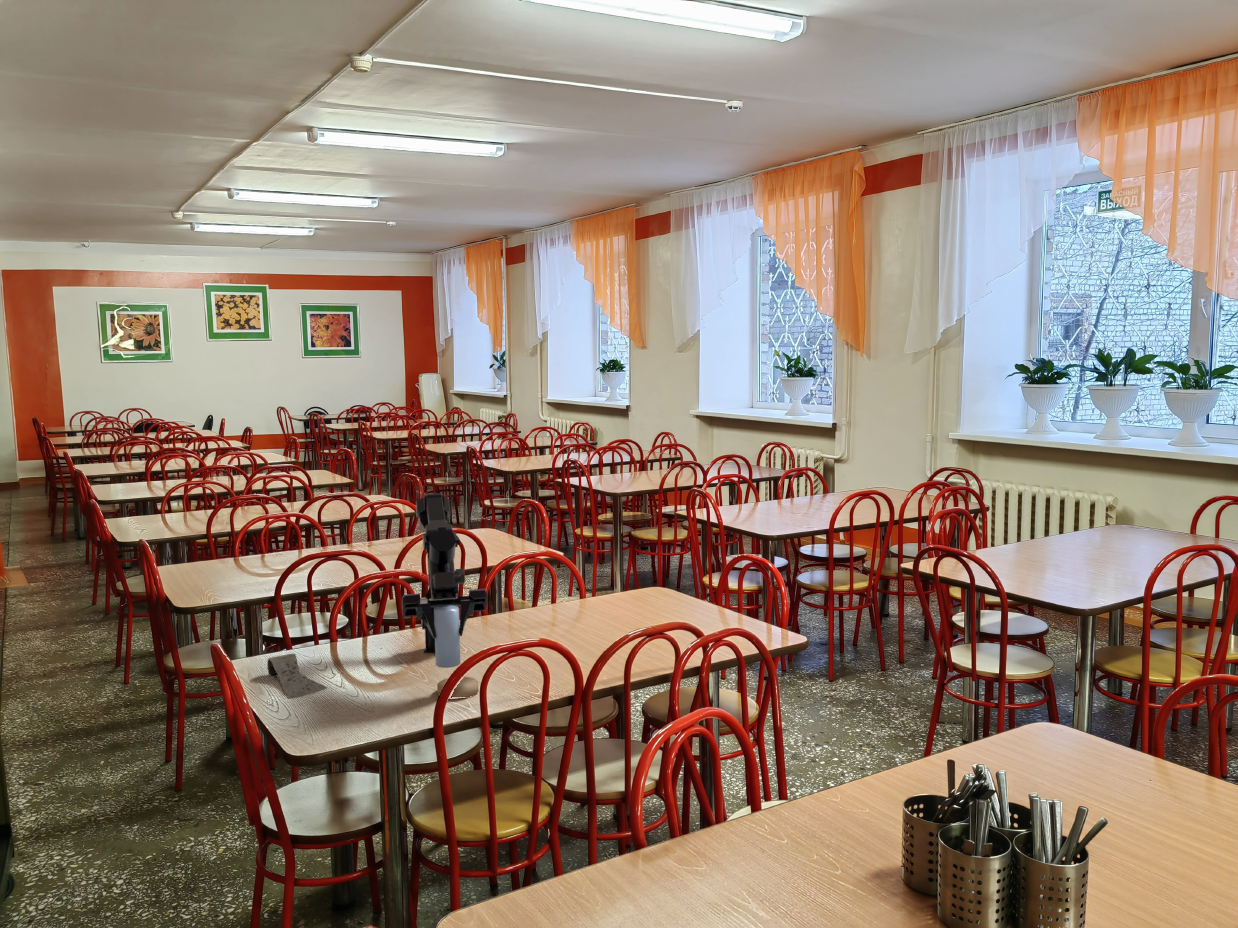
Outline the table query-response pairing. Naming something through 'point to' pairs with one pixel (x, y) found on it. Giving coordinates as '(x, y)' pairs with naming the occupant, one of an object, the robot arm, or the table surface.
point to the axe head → (292, 676)
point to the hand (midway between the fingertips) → (447, 636)
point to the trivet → (462, 687)
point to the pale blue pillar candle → (447, 636)
